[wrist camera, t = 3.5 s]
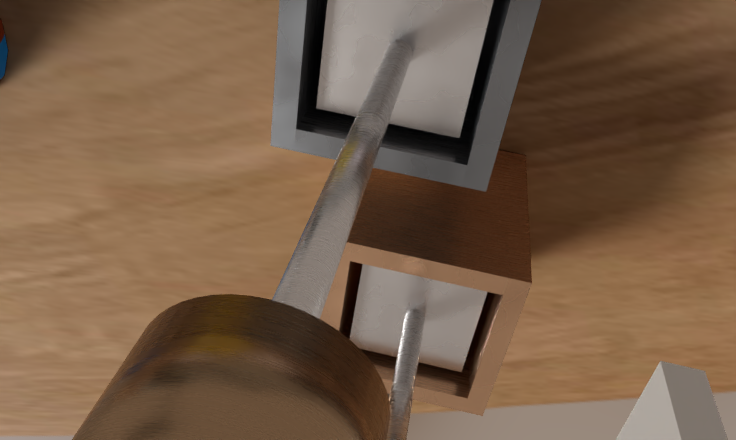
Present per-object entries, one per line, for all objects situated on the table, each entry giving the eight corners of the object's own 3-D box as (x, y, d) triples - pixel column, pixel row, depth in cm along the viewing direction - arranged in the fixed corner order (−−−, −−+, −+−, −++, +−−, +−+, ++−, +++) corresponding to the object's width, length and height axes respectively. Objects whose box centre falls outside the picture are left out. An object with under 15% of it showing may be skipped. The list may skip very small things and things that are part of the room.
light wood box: (375, 123, 39) (331, 238, 29) (525, 155, 38) (531, 283, 28) (350, 277, 46) (307, 412, 36) (477, 306, 45) (469, 451, 35)
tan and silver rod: (336, -48, 24) (-69, 348, 7) (496, -17, 24) (469, 479, 7) (320, 100, 28) (20, 607, 11) (460, 129, 27) (382, 705, 10)
